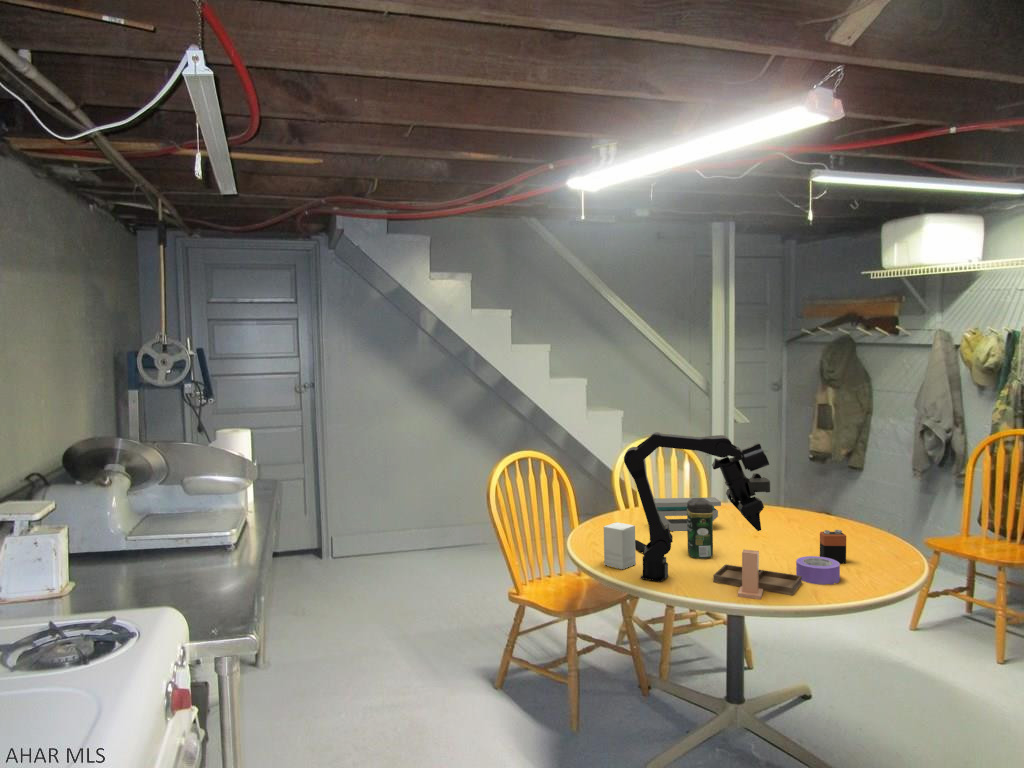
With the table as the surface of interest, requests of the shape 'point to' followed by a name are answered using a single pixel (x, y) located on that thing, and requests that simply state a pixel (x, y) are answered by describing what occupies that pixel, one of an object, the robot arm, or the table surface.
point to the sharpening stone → (679, 511)
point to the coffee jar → (700, 528)
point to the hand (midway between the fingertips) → (754, 525)
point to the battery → (833, 545)
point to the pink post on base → (750, 575)
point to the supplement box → (619, 545)
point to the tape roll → (818, 570)
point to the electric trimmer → (639, 546)
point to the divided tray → (760, 579)
